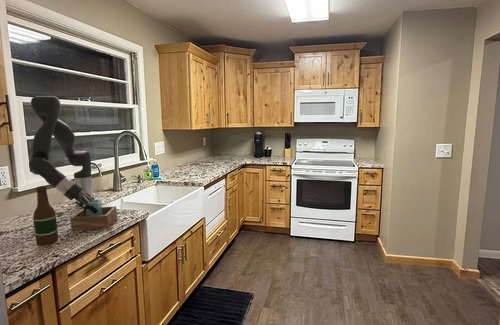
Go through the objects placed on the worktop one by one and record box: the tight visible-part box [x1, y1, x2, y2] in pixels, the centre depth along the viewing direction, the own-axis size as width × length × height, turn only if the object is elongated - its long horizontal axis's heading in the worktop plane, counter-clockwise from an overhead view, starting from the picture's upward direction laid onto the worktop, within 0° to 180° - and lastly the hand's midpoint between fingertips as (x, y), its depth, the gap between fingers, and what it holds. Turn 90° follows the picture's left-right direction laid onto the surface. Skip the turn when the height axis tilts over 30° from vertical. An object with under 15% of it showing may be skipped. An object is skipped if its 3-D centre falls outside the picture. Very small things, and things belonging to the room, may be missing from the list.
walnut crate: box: [69, 205, 118, 231], centre depth 145 cm, size 16×16×6 cm
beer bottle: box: [32, 185, 59, 247], centre depth 121 cm, size 8×8×24 cm
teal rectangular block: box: [86, 199, 103, 216], centre depth 144 cm, size 6×6×9 cm
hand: (98, 210), depth 144 cm, fingers closed on teal rectangular block, 5 cm apart
